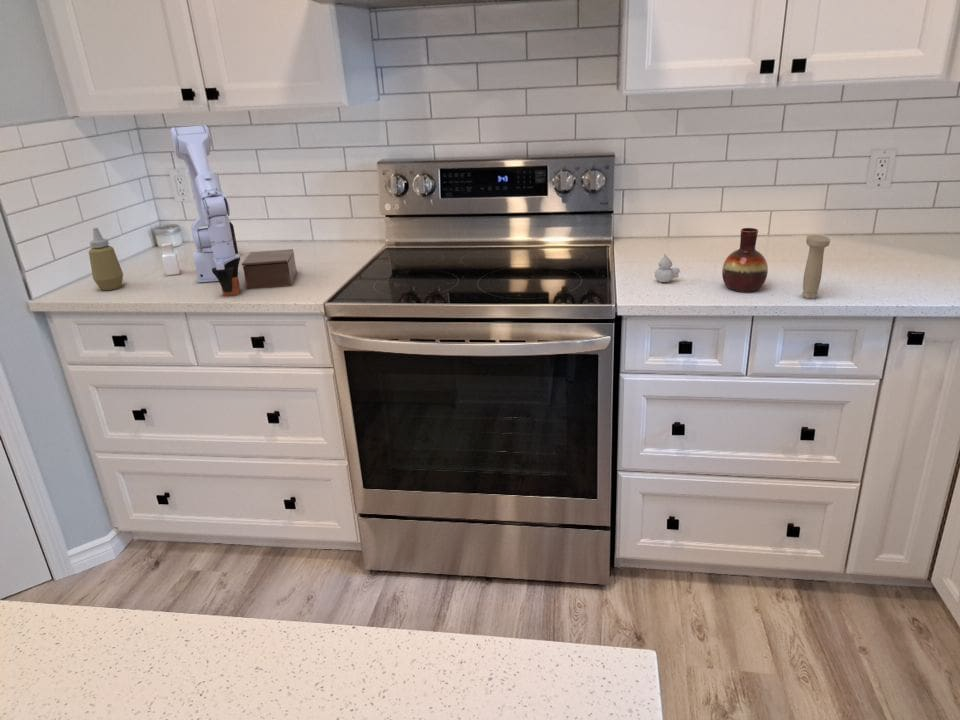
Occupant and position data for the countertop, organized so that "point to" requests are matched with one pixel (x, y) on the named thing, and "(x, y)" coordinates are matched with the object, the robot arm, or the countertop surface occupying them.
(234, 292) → the block
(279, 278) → the chest
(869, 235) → the countertop surface
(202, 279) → the robot arm
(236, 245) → the black upright box
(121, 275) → the squeeze bottle
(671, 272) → the grey rounded figurine
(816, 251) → the handle
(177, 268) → the pepper shaker
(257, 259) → the chest lid
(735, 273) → the vase
